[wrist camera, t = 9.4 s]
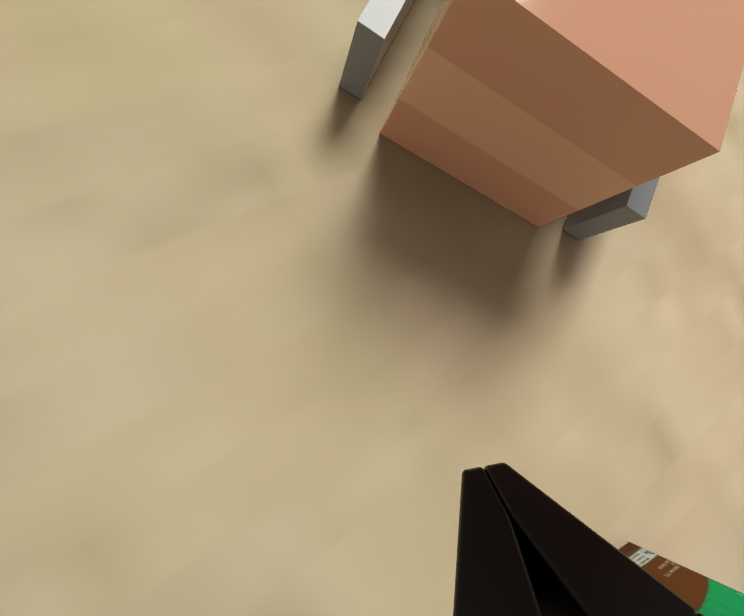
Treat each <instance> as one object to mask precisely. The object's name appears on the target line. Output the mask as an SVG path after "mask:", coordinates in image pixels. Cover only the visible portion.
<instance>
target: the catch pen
mask: <svg viewBox="0 0 744 616" xmlns="http://www.w3.org/2000/svg"><path fill="white" fill-rule="evenodd" d="M413 2H414V0H369V2H368V4H367V6H366V7H365V9H364V11H363V13H362V14H361V16H360V18H359V20H358V22H357V26H356V29H355V32H354V36H353V39H352V43H351V46H350V50H349V53H348V57H347V60H346V64H345V67H344V71H343V74H342V77H341V81H340V84H339V86H340V87H341V88H343V89H344V90H346V91H347V92H349V93H350V94H352V95H354V96H355V97H357V98H358V99H360V100H361V98H362V96H363V94H364V92H365V91H366V89H367V87H368V85H369V83H370V81H371V80H372V78H373V76H374V74H375V72H376V70H377V68H378V67H379V65H380V63H381V61H382V59H383V57H384V56H385V54H386V52H387V50H388V48H389V46H390V44H391V43H392V41H393V39H394V37H395V35H396V33H397V32H398V30H399V28H400V26H401V24H402V22H403V20H404V19H405V17H406V15H407V13H408V11H409V9H410V8H411V6H412V4H413ZM658 180H659V177H658V178H655V179H653V180H650V181H648V182H646V183H643V184H641V185H638V186H636V187H634V188H631V189H629V190H626V191H624V192H622V193H619V194H617V195H615V196H612V197H610V198H607V199H605V200H603V201H600V202H598V203H595V204H593V205H591V206H588V207H586V208H583V209H581V210H579V211H576V212H574V213H571V214H569V215H568V217H567V220H566V222H565V225H564V228H563V230H564V231H565V232H567V233H569V234H570V235H572V236H573V237H575V238H576V239H578V240H581V239H584V238H587V237H590V236H593V235H596V234H599V233H603V232H606V231H609V230H612V229H615V228H618V227H621V226H624V225H627V224H630V223H633V222H637V221H640V220H643V219H646V216H647V213H648V210H649V207H650V204H651V201H652V198H653V195H654V192H655V189H656V186H657V183H658Z"/></svg>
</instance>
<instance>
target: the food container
mask: <svg viewBox="0 0 744 616" xmlns="http://www.w3.org/2000/svg"><path fill="white" fill-rule="evenodd" d="M619 551H620V552H622V553H623V554H624V555H626V556H627V557H628V558H630V559H631V560H632V561H633V562H635V563H636V564H637V565H639V566H640V567H641V568H643V569H644V570H645V571H647V572H648V573H649V574H650V575H652V576H653V577H654V578H656V579H657V580H658V581H660V582H661V583H662V584H663V585H665V586H666V587H667V588H669V589H670V590H671V591H673V592H674V593H675V594H676V595H678V596H679V597H680V598H682V599H683V600H684V601H686V602H687V603H688V604H689V605H691V606H692V607H693V608H694V609H695V613H701V614H703V615H704V616H744V594H743V593H741V592H739V591H736V590H734V589H732V588H730V587H728V586H725V585H723V584H721V583H719V582H716V581H714V580H712V579H710V578H708V577H705V576H703V575H701V574H699V573H697V572H694V571H692V570H690V569H688V568H686V567H683V566H681V565H679V564H677V563H675V562H672V561H670V560H668V559H666V558H663V557H661V556H659V555H657V554H655V553H652V552H650V551H648V550H646V549H644V548H641V547H639V546H637V545H635V544H633V543H630V542H628V543H627V544H626V545H624V546H623V547H621V548H620V549H619Z"/></svg>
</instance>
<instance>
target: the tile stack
mask: <svg viewBox="0 0 744 616" xmlns="http://www.w3.org/2000/svg"><path fill="white" fill-rule="evenodd" d="M743 64H744V0H443V2H442V4H441V6H440V8H439V10H438V12H437V14H436V16H435V18H434V20H433V23H432V25H431V27H430V29H429V31H428V33H427V35H426V37H425V39H424V41H423V43H422V46H421V48H420V50H419V52H418V54H417V56H416V58H415V60H414V62H413V64H412V67H411V69H410V71H409V73H408V75H407V77H406V79H405V81H404V83H403V85H402V88H401V90H400V92H399V94H398V96H397V98H396V100H395V102H394V104H393V106H392V108H391V111H390V113H389V115H388V117H387V119H386V121H385V123H384V125H383V127H382V129H381V132H380V134H382V135H383V136H385V137H387V138H388V139H390V140H392V141H394V142H395V143H397V144H399V145H400V146H402V147H404V148H405V149H407V150H409V151H410V152H412V153H414V154H415V155H417V156H419V157H420V158H422V159H424V160H426V161H427V162H429V163H431V164H432V165H434V166H436V167H437V168H439V169H441V170H442V171H444V172H446V173H447V174H449V175H451V176H453V177H454V178H456V179H458V180H459V181H461V182H463V183H464V184H466V185H468V186H469V187H471V188H473V189H474V190H476V191H478V192H479V193H481V194H483V195H485V196H486V197H488V198H490V199H491V200H493V201H495V202H496V203H498V204H500V205H501V206H503V207H505V208H506V209H508V210H510V211H511V212H513V213H515V214H517V215H518V216H520V217H522V218H523V219H525V220H527V221H528V222H530V223H532V224H533V225H535V226H537V227H540V226H543V225H545V224H548V223H550V222H552V221H555V220H557V219H560V218H562V217H564V216H567V215H569V214H571V213H574V212H576V211H579V210H581V209H583V208H586V207H588V206H591V205H593V204H595V203H598V202H600V201H603V200H605V199H607V198H610V197H612V196H615V195H617V194H619V193H622V192H624V191H626V190H629V189H631V188H634V187H636V186H638V185H641V184H643V183H646V182H648V181H650V180H653V179H655V178H658V177H660V176H662V175H665V174H667V173H670V172H672V171H674V170H677V169H679V168H681V167H684V166H686V165H689V164H691V163H693V162H696V161H698V160H701V159H703V158H705V157H708V156H710V155H713V154H715V153H717V152H720V149H721V146H722V142H723V138H724V134H725V131H726V127H727V123H728V120H729V116H730V112H731V109H732V105H733V101H734V98H735V94H736V90H737V87H738V83H739V79H740V75H741V72H742V68H743Z"/></svg>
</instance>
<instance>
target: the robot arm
mask: <svg viewBox="0 0 744 616" xmlns="http://www.w3.org/2000/svg"><path fill="white" fill-rule="evenodd" d="M453 616H704V615H703V614H701V613H695V609H694V608H693V607H692V606H691V605H689V604H688V603H687V602H686V601H684V600H683V599H682V598H680V597H679V596H678V595H676V594H675V593H674V592H673V591H671V590H670V589H669V588H667V587H666V586H665V585H663V584H662V583H661V582H660V581H658V580H657V579H656V578H654V577H653V576H652V575H650V574H649V573H648V572H647V571H645V570H644V569H643V568H641V567H640V566H639V565H637V564H636V563H635V562H633V561H632V560H631V559H630V558H628V557H627V556H626V555H624V554H623V553H622V552H620V551H619V550H618V549H617V548H615V547H614V546H613V545H611V544H610V543H609V542H607V541H606V540H605V539H604V538H602V537H601V536H600V535H598V534H597V533H596V532H594V531H593V530H592V529H591V528H589V527H588V526H587V525H585V524H584V523H583V522H581V521H580V520H579V519H577V518H576V517H575V516H574V515H572V514H571V513H570V512H568V511H567V510H566V509H564V508H563V507H562V506H561V505H559V504H558V503H557V502H555V501H554V500H553V499H551V498H550V497H549V496H548V495H546V494H545V493H544V492H542V491H541V490H540V489H538V488H537V487H536V486H535V485H533V484H532V483H531V482H529V481H528V480H527V479H525V478H524V477H523V476H521V475H520V474H519V473H518V472H516V471H515V470H514V469H512V468H511V467H510V466H508V465H507V464H505V463H498V464H493V465H488V466H486V467H485V468H484V469H483V468H481V467H477V468H472V469H467V470H464V471H463V472H462V482H461V498H460V514H459V530H458V546H457V562H456V578H455V594H454V610H453Z"/></svg>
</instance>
